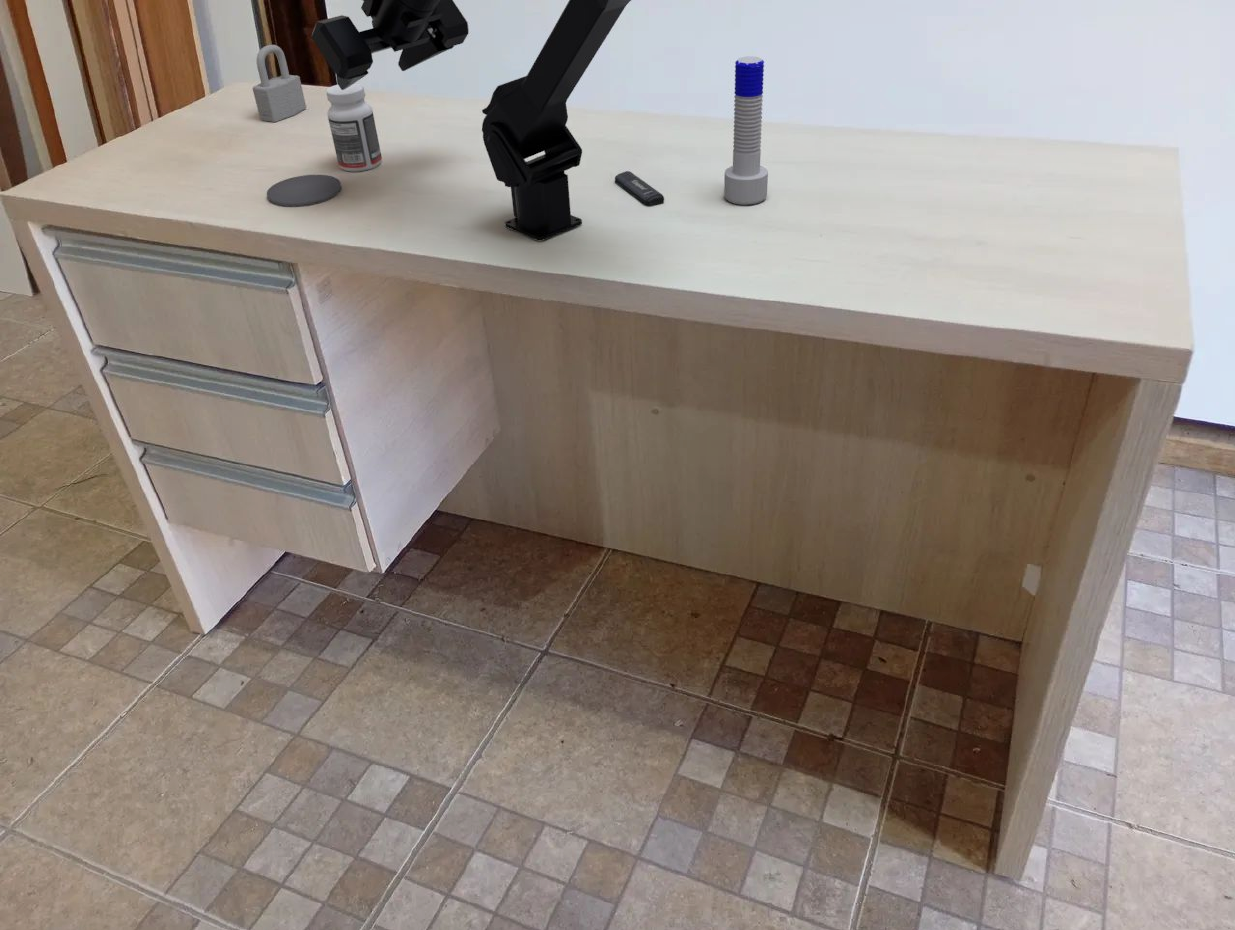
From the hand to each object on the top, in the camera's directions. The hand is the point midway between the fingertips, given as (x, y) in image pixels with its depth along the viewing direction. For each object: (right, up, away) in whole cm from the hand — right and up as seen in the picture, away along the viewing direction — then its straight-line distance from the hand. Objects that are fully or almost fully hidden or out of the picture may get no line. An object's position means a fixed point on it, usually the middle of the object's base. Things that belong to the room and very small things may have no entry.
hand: (371, 76), depth 125 cm
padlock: (-20, +5, +30) cm, 36 cm away
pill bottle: (-4, -8, +11) cm, 14 cm away
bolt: (+45, -16, -4) cm, 48 cm away
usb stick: (+33, -15, -1) cm, 36 cm away
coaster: (-9, -13, +4) cm, 16 cm away
